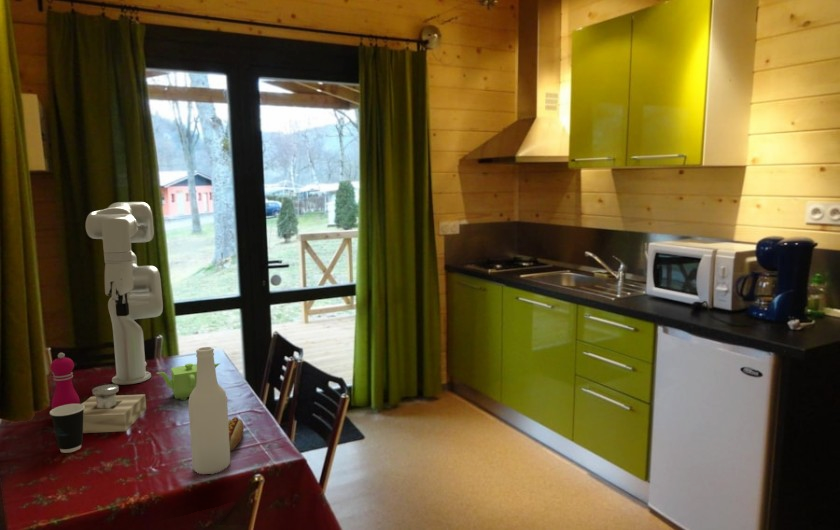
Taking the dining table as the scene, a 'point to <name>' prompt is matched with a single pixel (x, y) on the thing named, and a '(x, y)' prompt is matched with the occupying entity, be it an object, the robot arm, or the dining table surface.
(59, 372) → the pepper mill
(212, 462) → the alcohol
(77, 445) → the dixie cup
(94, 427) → the block
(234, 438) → the food
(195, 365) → the teapot
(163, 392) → the dining table surface
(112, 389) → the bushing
